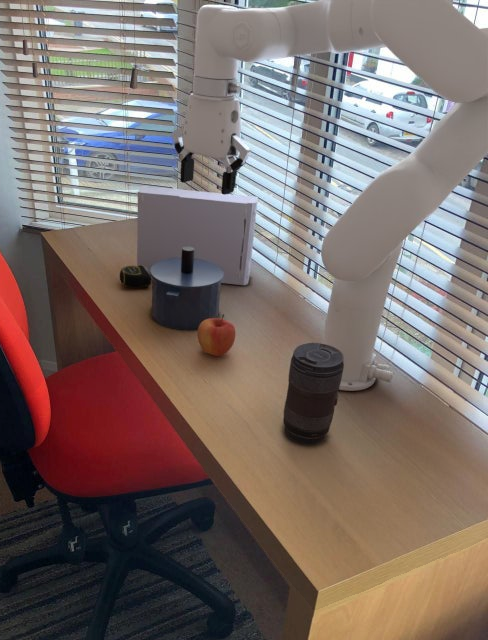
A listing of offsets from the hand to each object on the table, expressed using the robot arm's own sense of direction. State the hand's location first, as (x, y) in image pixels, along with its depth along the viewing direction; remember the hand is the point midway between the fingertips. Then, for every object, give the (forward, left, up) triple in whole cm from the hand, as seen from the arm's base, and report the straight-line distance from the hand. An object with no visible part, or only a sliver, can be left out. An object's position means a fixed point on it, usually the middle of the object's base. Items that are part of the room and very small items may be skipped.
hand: (206, 186), depth 123 cm
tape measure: (+21, -10, -29) cm, 37 cm away
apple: (-9, +10, -29) cm, 32 cm away
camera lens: (-33, +26, -29) cm, 51 cm away
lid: (+4, -2, -19) cm, 20 cm away
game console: (+12, -22, -29) cm, 38 cm away
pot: (+4, -2, -29) cm, 29 cm away
